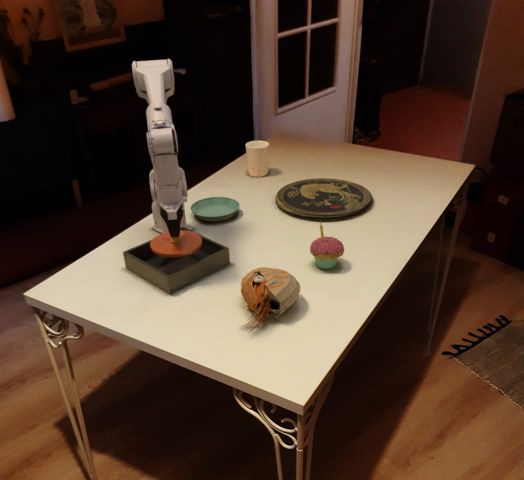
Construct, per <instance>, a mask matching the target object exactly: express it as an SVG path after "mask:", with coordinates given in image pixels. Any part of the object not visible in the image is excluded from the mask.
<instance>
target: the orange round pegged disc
mask: <svg viewBox="0 0 524 480" xmlns="http://www.w3.org/2000/svg"><path fill="white" fill-rule="evenodd" d="M194 232H195V231H194ZM194 232H191V231H186V230H180V236H179V237H173V238H171V236H170V234H169V232H165V233H160V234H157V235H155V236H154V237H153V238H152V239H150V240H151V242H150V248H151V250H152V252H153V253H155V254H157V255H159V256H163V257H182V256H186V255H189V254H192V253H194V252H196V251H197V250H199V249H200V248H201V246H202V238H201V236H200V235H201V234H200V235H198V234H199V233H198V232H196V233H194ZM197 233H198V234H197Z"/></svg>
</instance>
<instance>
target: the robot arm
mask: <svg viewBox="0 0 524 480" xmlns="http://www.w3.org/2000/svg"><path fill="white" fill-rule="evenodd" d="M131 70H132V77H133V84H134V87H135V90H136V93H137V96H138V97H139V98H141V99H145V101H146V103H147V104H148V106H147V108H146V110H145V117H146V123H147V132H146V142H147V147H148V153H149V156H150V160H151V164H152V167H153V168H152V169H151V170H150V172H149V186H150V188H149V189H150V193H151V194H150V195H151V200H152V203H151V212H152V219H153V225H154V226H151V227H152V228H151V229H153V230H154V231H157V232H158V233H160V234H162V233H165V232H169V234H170V236H171V238H173V237H179V236H180V228H181V227H185V228H187V229H189V230H192V231H194V227H193V226H191V225H188V224H187V218H186V209H185V203H187V202H188V197H189V196H188V195H189V194H188V193H189V192H188V186H187V179H186V173H185V171H184V169H183V168H182V167H181V166H180V165H179V161H178V154H179V143H178V135H177V131H176V129H175V125H174V123H173V118H172V111H171V108H170V106H168V104H167V101H168V98H170V97H171V96H173V95H174V94H175V93H174V92H175V84H176V83H175V75H174V66H173V61H172V60H171V59H170V58H167V59H153V60H140V61H136V60H133V61H132V63H131ZM175 150H176V151H175Z"/></svg>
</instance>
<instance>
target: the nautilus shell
mask: <svg viewBox="0 0 524 480" xmlns="http://www.w3.org/2000/svg"><path fill="white" fill-rule="evenodd" d="M300 292H301V284H300V282H299V281H298V279H297V278H296V277H295V276H294V275H293V274H291V273H289V271H286V270H284V269H280V268H274V267H265V266H261V267H257V268H254V269H252V270H251V271H248V272H247V273H246V275H245V276H243V277H242V279H241V283H240V294H241V295H242V297H243V300H244V301H245V304H247V305H244V306H243V307H242V309H244V308H246V307H249V308H248V309H246V311H249V310H250V309H251V310H252V311H253V312H254V314H252V316H251V317H249V318H248V319H247V321H249V320H250V319H251V320H250V321H249V322H247V323H246V324H244V325H242V326H241V327H242V328H243V327H244V328H246V329H248V328H252V329H250V330H249V331H247V332H246V333H247V334H249V333H251V332H253V331H254V330H255V329H256V331H255V332H257V331H258V329H259V326H260V325H261V324H262V323H264V324H263V325H265V324H266V322H267V321H268V320H269V318H270V317H271V316H273V317H275V318H279V316H281V315H282V314H283V313H284V312H285V311H286V310H287V309H289V308H290V307H291V306H292V305H293V304H294V303H295V302H296V301H297V299H298V297H299V295H300ZM256 314H257V315H256ZM258 321H259V322H258ZM257 322H258V323H257ZM264 328H265V326H263V327H262V329H264Z"/></svg>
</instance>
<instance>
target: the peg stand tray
mask: <svg viewBox="0 0 524 480" xmlns="http://www.w3.org/2000/svg"><path fill="white" fill-rule="evenodd" d="M180 230H186V231H191V232H194V233H197V234H198V235H200V236H201V238H202V246H201V248H200V249H199V250H197V251H196V252H194V253H192V254H189V255H186V256H182V257H163V256H159V255H157V254H155V253H153V252H152V250H151V248H150V242H151V240H152V239H150V240H149V241H146V242H145V241H144V242H143V243H141V244H139V245H136V246H133V247H131V248H129V249H126V250H125V251H122V255H123V259H124V261H123V262H124V267H125V269H126V270H127V271H128V272H129V271H130V272H131V273H133V274H134V275H137V277H139V278H141V279H143V280H145V281H146V282H148V283H150V284H151V285H153V286H154V287H157V289H160V290H162V291H163V292H165V293H167V294H168V295H172V294H174V293H176V292H179V291H181V290H183V289H185V288H187V287H188V286H191V285H192V284H195V283H196V282H199V281H201V280H202V279H204V278H207V277H209V276H210V275H213V274H214V273H216V272H218V271H220V270H223V269H225V268H226V267H228V266H230V265H231V257H230V256H231V255H230V248H229V247H227V246H226V245H224V244H221V243H219V242H217V241H214V240H213V239H211V238H209V237H207V236H204V235H203V234H200V233H198V232H196V231H194V230H189V229H187V228H185V227H181V228H180Z"/></svg>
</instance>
